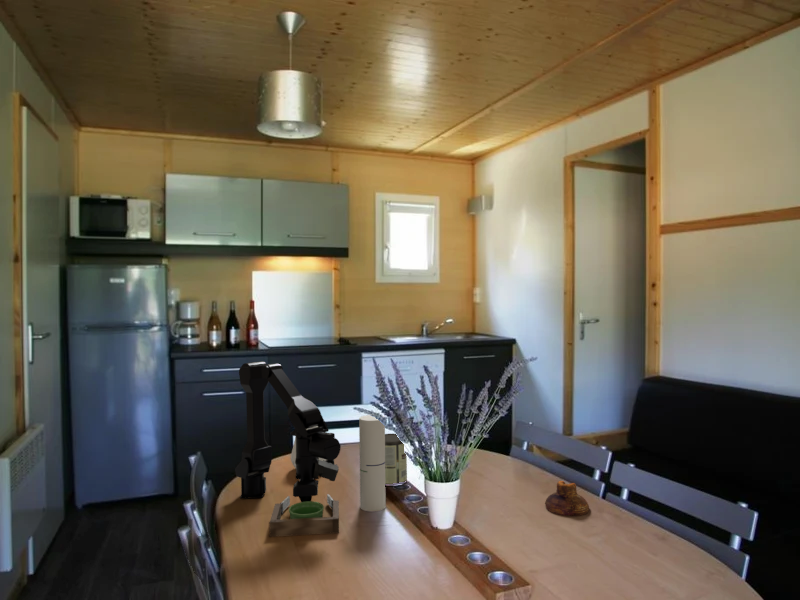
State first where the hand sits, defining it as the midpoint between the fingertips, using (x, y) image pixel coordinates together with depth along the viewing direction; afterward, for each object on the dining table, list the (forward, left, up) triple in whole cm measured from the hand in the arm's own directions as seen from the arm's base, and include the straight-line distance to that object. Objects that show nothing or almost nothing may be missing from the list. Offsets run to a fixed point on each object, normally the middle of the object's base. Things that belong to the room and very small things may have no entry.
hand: (307, 510), depth 151 cm
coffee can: (+25, +23, -1) cm, 34 cm away
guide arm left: (-6, +4, -1) cm, 7 cm away
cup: (-1, +39, -1) cm, 39 cm away
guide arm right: (+6, +4, -1) cm, 7 cm away
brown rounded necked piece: (+71, -5, -2) cm, 71 cm away
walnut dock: (0, -6, -1) cm, 6 cm away
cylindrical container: (+18, +3, -1) cm, 18 cm away
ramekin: (0, -6, -1) cm, 7 cm away
